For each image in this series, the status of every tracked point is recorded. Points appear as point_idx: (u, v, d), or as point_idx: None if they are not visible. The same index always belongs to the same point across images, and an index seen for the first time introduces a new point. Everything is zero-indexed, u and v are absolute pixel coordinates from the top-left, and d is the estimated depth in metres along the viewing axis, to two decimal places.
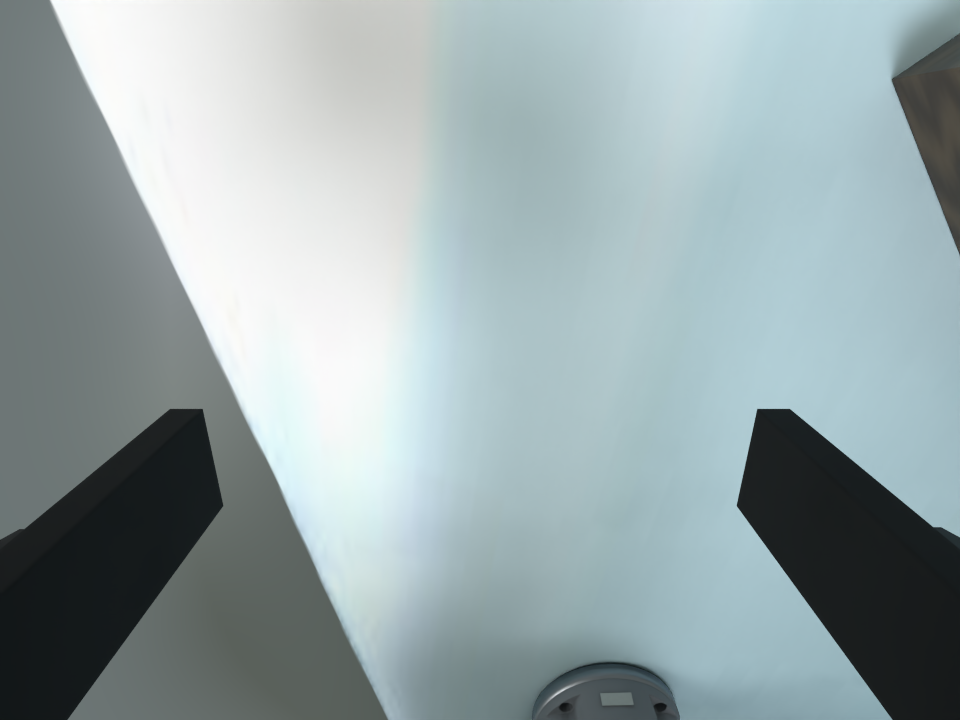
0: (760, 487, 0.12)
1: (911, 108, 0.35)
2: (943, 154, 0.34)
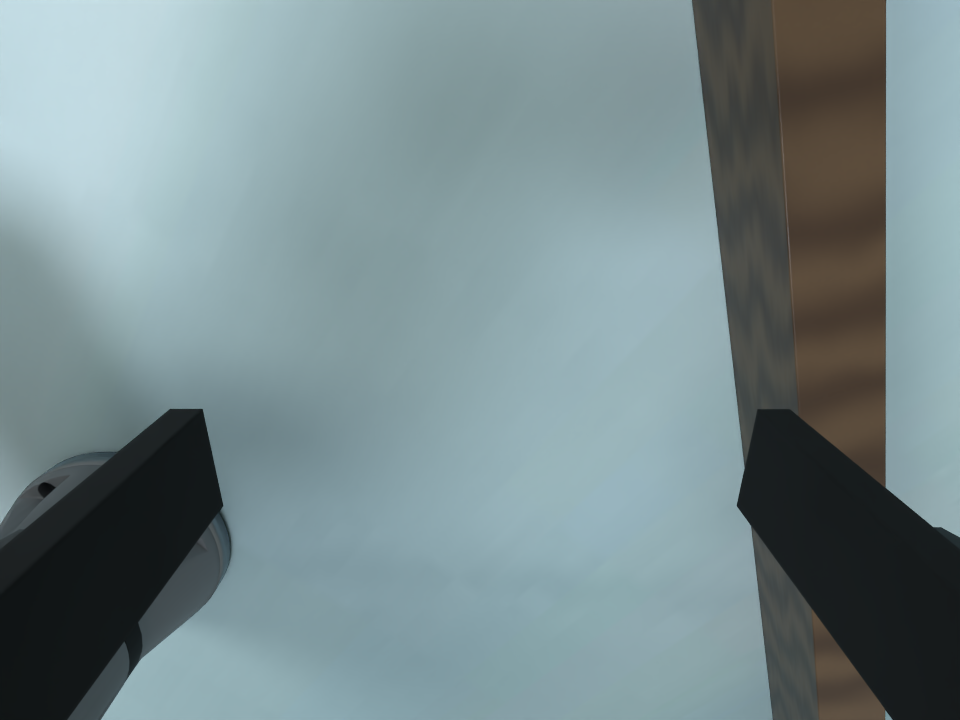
0: (760, 487, 0.12)
1: None
2: None
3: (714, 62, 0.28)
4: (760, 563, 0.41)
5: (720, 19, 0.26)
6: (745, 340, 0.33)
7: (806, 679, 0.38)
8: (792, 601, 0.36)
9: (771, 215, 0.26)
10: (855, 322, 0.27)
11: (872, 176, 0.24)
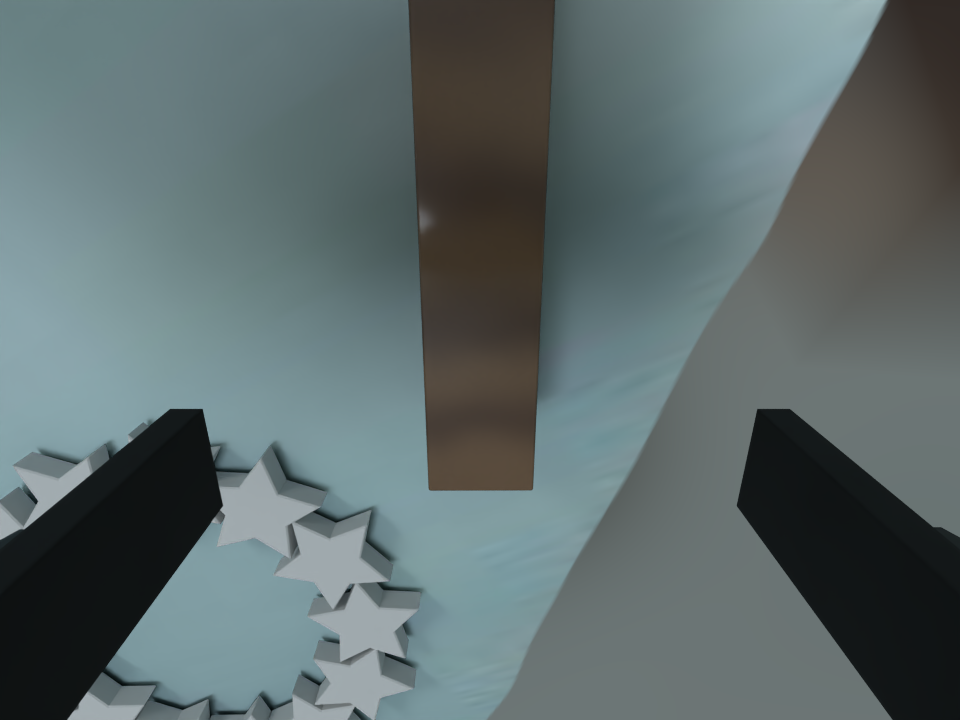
0: (760, 487, 0.12)
1: None
2: None
3: None
4: None
5: None
6: None
7: None
8: None
9: None
10: None
11: None
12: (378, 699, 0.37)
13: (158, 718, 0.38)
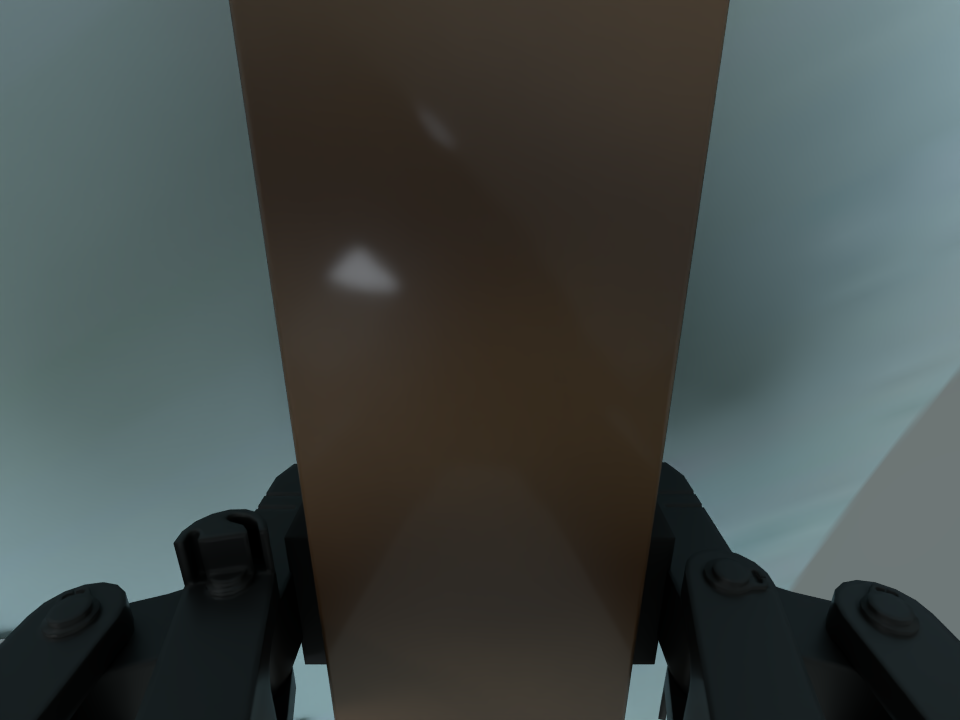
0: None
1: None
2: None
3: None
4: None
5: None
6: None
7: None
8: None
9: None
10: None
11: None
12: None
13: None
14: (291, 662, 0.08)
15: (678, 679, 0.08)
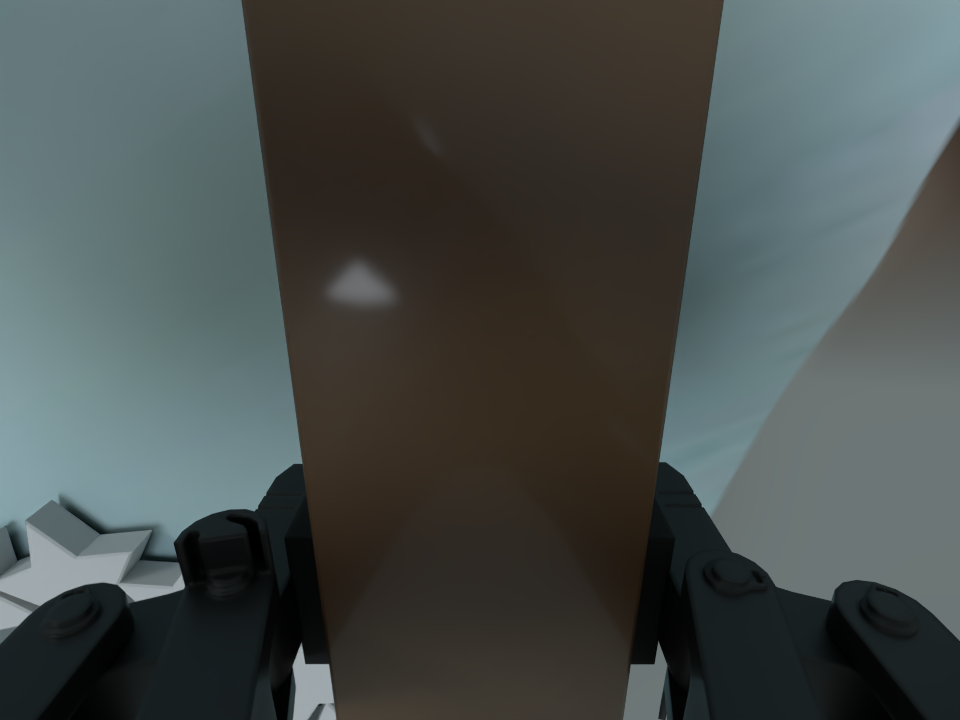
0: None
1: None
2: None
3: None
4: None
5: None
6: None
7: None
8: None
9: None
10: None
11: None
12: None
13: None
14: (291, 662, 0.08)
15: (678, 679, 0.08)
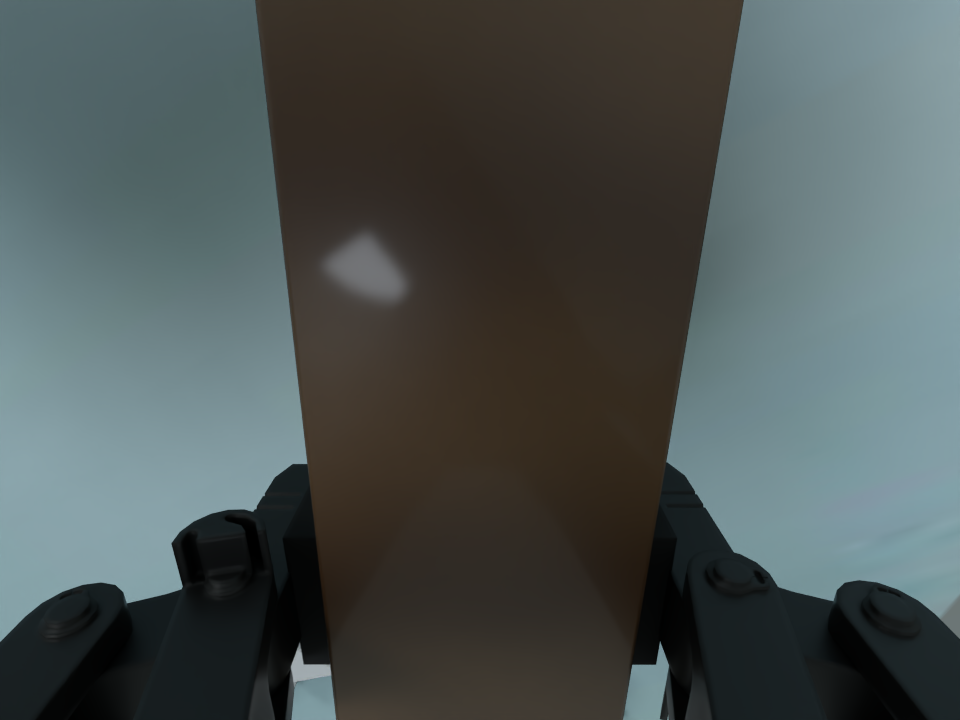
0: None
1: None
2: None
3: None
4: None
5: None
6: None
7: None
8: None
9: None
10: None
11: None
12: None
13: None
14: (289, 662, 0.08)
15: (680, 679, 0.08)
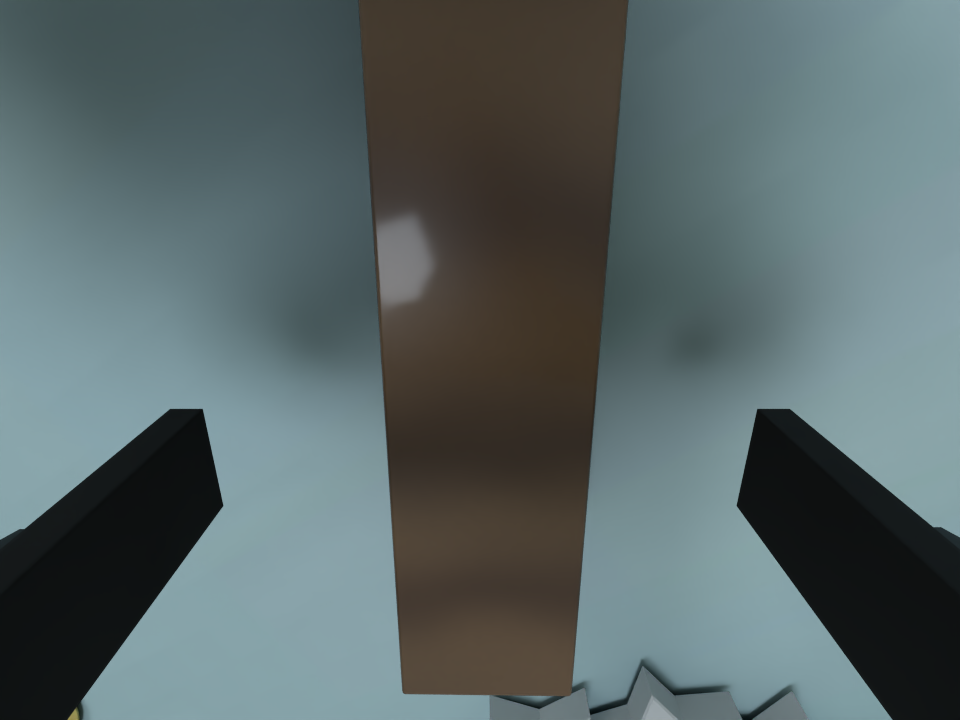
0: (760, 487, 0.12)
1: None
2: None
3: None
4: None
5: None
6: None
7: None
8: None
9: None
10: None
11: None
12: None
13: None
14: None
15: None
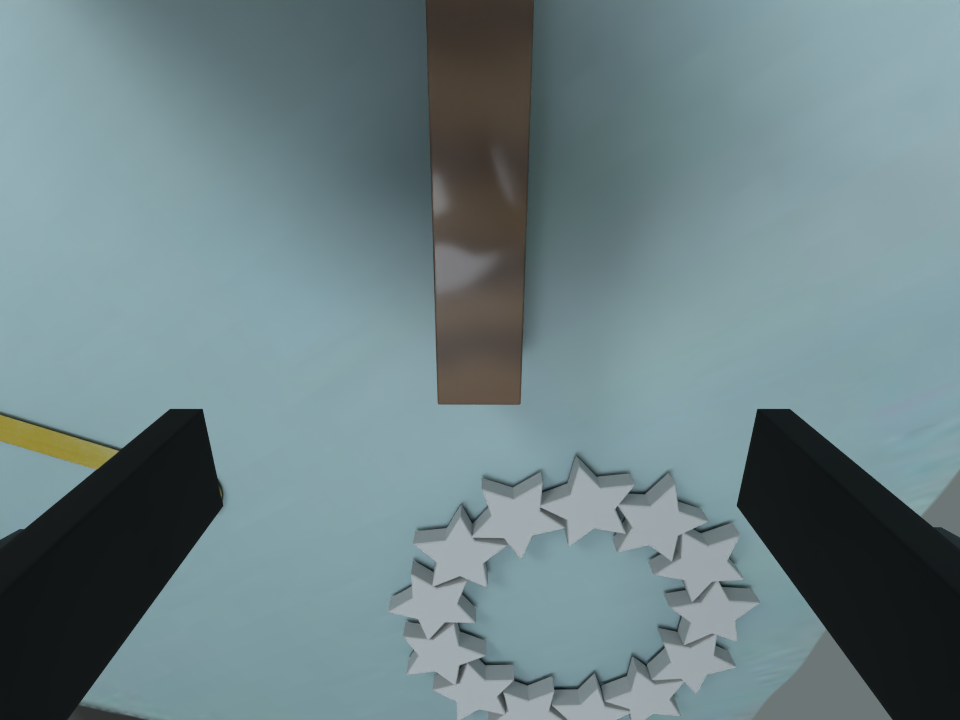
0: (760, 487, 0.12)
1: None
2: None
3: None
4: None
5: None
6: None
7: None
8: None
9: None
10: None
11: None
12: (705, 675, 0.45)
13: (516, 691, 0.47)
14: None
15: None
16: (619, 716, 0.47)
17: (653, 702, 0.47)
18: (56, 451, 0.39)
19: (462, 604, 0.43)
